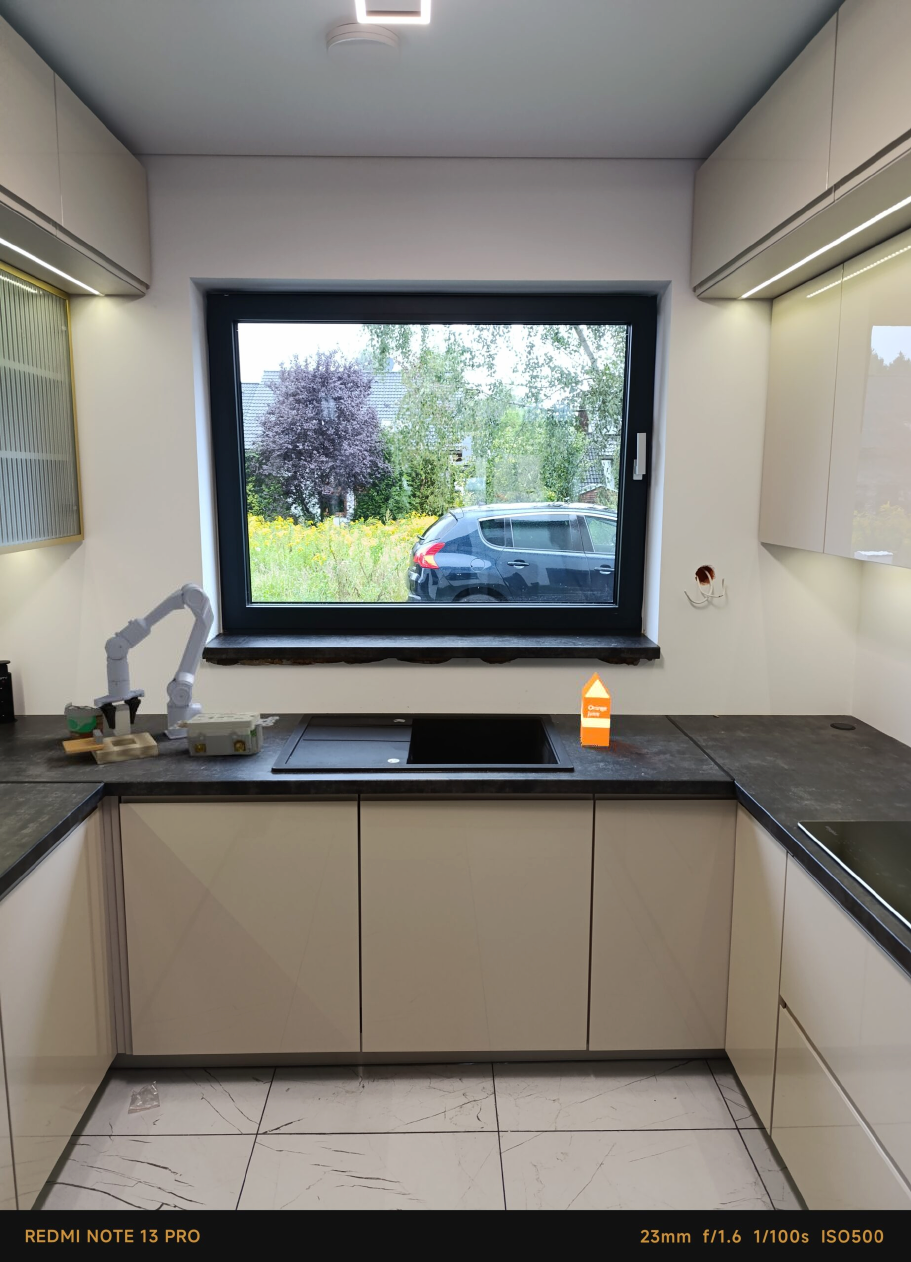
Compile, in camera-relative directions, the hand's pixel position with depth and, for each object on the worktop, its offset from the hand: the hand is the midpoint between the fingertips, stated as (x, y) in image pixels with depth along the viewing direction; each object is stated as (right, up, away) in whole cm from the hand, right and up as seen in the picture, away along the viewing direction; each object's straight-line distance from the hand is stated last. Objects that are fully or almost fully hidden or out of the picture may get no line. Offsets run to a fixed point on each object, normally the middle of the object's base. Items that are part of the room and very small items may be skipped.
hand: (121, 726), depth 238 cm
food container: (-11, -4, 0) cm, 12 cm away
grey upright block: (0, -2, 0) cm, 2 cm away
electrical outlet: (+32, -6, -8) cm, 33 cm away
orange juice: (+135, -5, +4) cm, 135 cm away
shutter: (-4, -4, -16) cm, 17 cm away
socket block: (+5, -6, -10) cm, 13 cm away
